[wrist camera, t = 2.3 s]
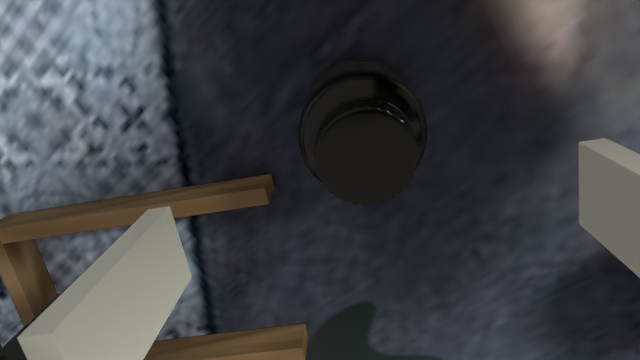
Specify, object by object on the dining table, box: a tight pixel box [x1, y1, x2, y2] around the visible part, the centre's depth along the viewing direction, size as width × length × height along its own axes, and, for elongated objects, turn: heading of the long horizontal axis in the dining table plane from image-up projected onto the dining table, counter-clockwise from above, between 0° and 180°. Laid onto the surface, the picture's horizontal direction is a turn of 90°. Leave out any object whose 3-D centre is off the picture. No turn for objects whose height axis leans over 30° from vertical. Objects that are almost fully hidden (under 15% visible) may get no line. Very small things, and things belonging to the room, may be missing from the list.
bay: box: [0, 174, 308, 360], centre depth 36 cm, size 17×22×5 cm
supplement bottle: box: [299, 57, 427, 206], centre depth 27 cm, size 7×7×12 cm
